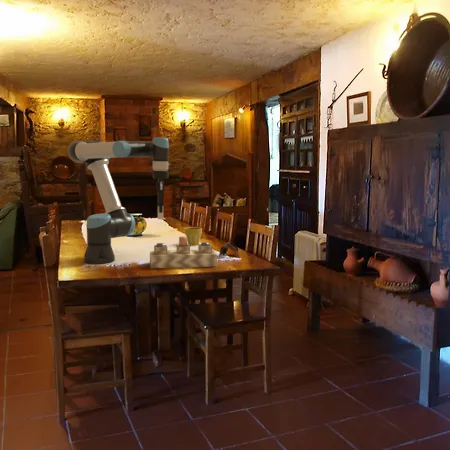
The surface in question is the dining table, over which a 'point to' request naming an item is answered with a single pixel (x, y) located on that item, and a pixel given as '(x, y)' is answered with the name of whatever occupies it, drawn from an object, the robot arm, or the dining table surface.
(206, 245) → the knob far
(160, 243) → the knob near
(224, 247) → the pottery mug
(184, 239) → the knob middle
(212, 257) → the beige long block
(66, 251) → the dining table surface
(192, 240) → the plant pot
